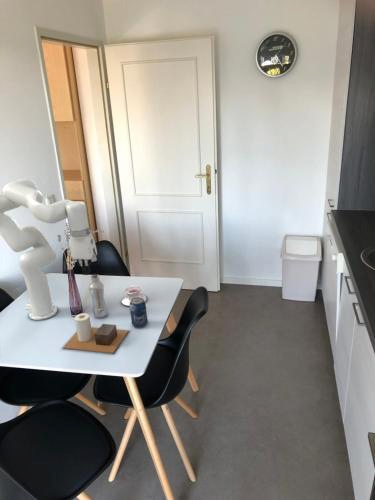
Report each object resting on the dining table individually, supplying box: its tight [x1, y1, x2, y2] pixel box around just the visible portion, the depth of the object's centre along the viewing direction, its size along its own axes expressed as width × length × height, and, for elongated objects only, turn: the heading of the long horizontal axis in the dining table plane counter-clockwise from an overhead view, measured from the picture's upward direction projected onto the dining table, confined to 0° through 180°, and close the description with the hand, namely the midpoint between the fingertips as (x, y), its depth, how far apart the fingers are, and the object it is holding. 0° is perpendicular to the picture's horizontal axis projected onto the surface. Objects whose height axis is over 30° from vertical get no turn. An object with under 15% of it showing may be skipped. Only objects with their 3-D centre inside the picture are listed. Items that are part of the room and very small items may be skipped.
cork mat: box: [62, 327, 129, 354], centre depth 174 cm, size 22×16×1 cm
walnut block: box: [94, 323, 118, 346], centre depth 172 cm, size 6×8×5 cm
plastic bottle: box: [88, 274, 109, 319], centre depth 190 cm, size 6×7×20 cm
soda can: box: [129, 297, 149, 329], centre depth 181 cm, size 7×7×12 cm
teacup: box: [121, 285, 147, 307], centre depth 204 cm, size 12×12×6 cm
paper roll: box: [74, 312, 93, 342], centre depth 174 cm, size 11×6×12 cm
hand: (86, 273), depth 177 cm, fingers closed
